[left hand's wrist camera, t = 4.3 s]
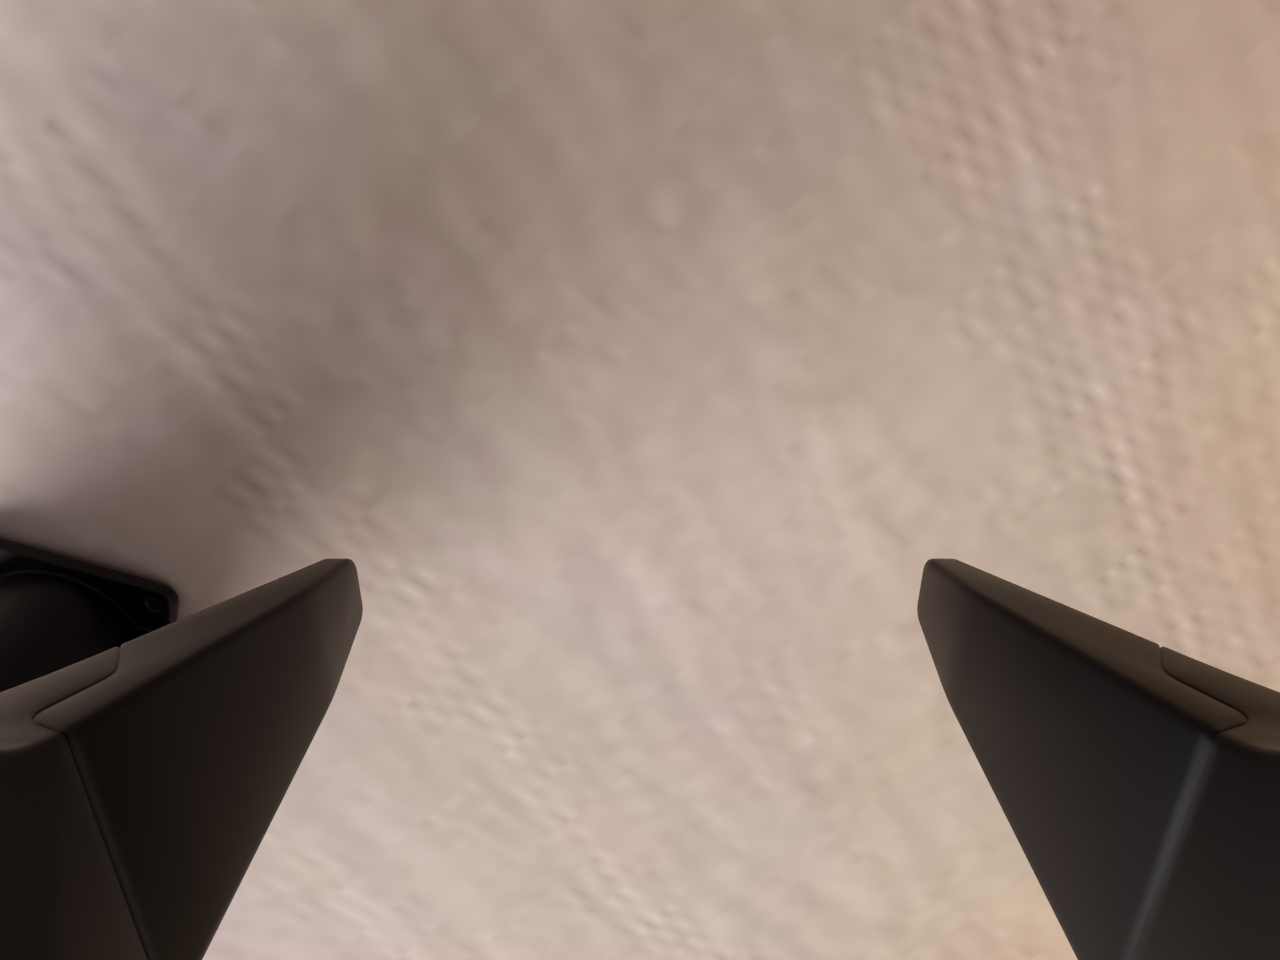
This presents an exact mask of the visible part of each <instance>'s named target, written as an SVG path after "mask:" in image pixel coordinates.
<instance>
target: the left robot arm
mask: <svg viewBox="0 0 1280 960" xmlns="http://www.w3.org/2000/svg"><path fill="white" fill-rule="evenodd" d="M155 597H156V598H158V599H160V600H161V601H162V603H163V604H161V603H159V602H157V600H156V599H155ZM178 604H179V599H178V595H177V594H176V592H175V591H174V590H173V589H172V588H171V587H169V586H167V585H165V584H161V583H158V582H154V581H151V580H147V579H143V578H140V577H136V576H133V575H129V574H125V573H122V572H118V571H114V570H111V569H107V568H104V567H100V566H96V565H93V564H89V563H85V562H82V561H78V560H75V559H71V558H67V557H64V556H60V555H56V554H53V553H49V552H46V551H42V550H38V549H35V548H31V547H27V546H24V545H20V544H17V543H13V542H9V541H6V540H2V539H0V960H202V959H203V957H204V955H205V953H206V951H207V949H208V947H209V945H210V943H211V941H212V939H213V937H214V935H215V933H216V931H217V929H218V927H219V925H220V923H221V921H222V919H223V917H224V915H225V913H226V911H227V909H228V907H229V905H230V903H231V901H232V899H233V897H234V895H235V893H236V891H237V889H238V887H239V885H240V883H241V881H242V879H243V877H244V875H245V873H246V871H247V869H248V867H249V865H250V863H251V861H252V859H253V857H254V855H255V853H256V851H257V849H258V847H259V845H260V843H261V841H262V839H263V837H264V835H265V833H266V831H267V829H268V827H269V825H270V823H271V821H272V819H273V817H274V815H275V813H276V811H277V809H278V807H279V805H280V803H281V801H282V799H283V797H284V795H285V793H286V791H287V789H288V787H289V785H290V783H291V781H292V779H293V777H294V775H295V773H296V771H297V769H298V767H299V765H300V763H301V761H302V759H303V757H304V755H305V753H306V751H307V749H308V747H309V745H310V743H311V742H312V740H313V738H314V736H315V734H316V732H317V730H318V728H319V726H320V724H321V722H322V720H323V718H324V716H325V714H326V712H327V709H328V707H329V705H330V703H331V701H332V699H333V696H334V694H335V691H336V689H337V686H338V683H339V681H340V678H341V675H342V672H343V669H344V667H345V664H346V661H347V658H348V655H349V653H350V650H351V647H352V644H353V641H354V639H355V636H356V633H357V630H358V627H359V625H360V622H361V618H362V611H363V609H362V600H361V593H360V587H359V581H358V575H357V570H356V566H355V564H354V562H353V561H352V560H350V559H324V560H322V561H319V562H317V563H315V564H312V565H310V566H307V567H305V568H303V569H300V570H298V571H295V572H293V573H291V574H288V575H286V576H284V577H281V578H279V579H276V580H274V581H272V582H269V583H267V584H264V585H262V586H260V587H257V588H255V589H252V590H250V591H248V592H245V593H243V594H241V595H238V596H236V597H233V598H231V599H229V600H226V601H224V602H221V603H219V604H217V605H214V606H212V607H210V608H207V609H205V610H202V611H200V612H198V613H195V614H193V615H190V616H188V617H186V618H183V619H181V620H178V621H177V612H178ZM917 611H918V618H919V622H920V625H921V627H922V630H923V633H924V636H925V639H926V641H927V644H928V647H929V650H930V653H931V655H932V658H933V661H934V664H935V667H936V669H937V672H938V675H939V678H940V681H941V683H942V686H943V689H944V691H945V694H946V696H947V699H948V701H949V703H950V705H951V707H952V709H953V712H954V714H955V716H956V718H957V720H958V722H959V724H960V726H961V728H962V730H963V732H964V734H965V736H966V738H967V740H968V742H969V744H970V745H971V747H972V749H973V751H974V753H975V755H976V757H977V759H978V761H979V763H980V765H981V767H982V769H983V771H984V773H985V775H986V777H987V779H988V781H989V783H990V785H991V787H992V789H993V791H994V793H995V795H996V797H997V799H998V801H999V803H1000V805H1001V807H1002V809H1003V811H1004V813H1005V815H1006V817H1007V819H1008V821H1009V823H1010V825H1011V827H1012V829H1013V831H1014V833H1015V835H1016V837H1017V839H1018V841H1019V843H1020V845H1021V847H1022V849H1023V851H1024V853H1025V855H1026V857H1027V859H1028V861H1029V863H1030V865H1031V867H1032V869H1033V871H1034V873H1035V875H1036V877H1037V879H1038V881H1039V883H1040V885H1041V887H1042V889H1043V891H1044V893H1045V895H1046V897H1047V899H1048V901H1049V903H1050V905H1051V907H1052V909H1053V911H1054V913H1055V915H1056V917H1057V919H1058V921H1059V923H1060V925H1061V927H1062V929H1063V931H1064V933H1065V935H1066V937H1067V939H1068V941H1069V943H1070V945H1071V947H1072V949H1073V951H1074V953H1075V955H1076V957H1077V959H1078V960H1280V692H1277V691H1274V690H1272V689H1269V688H1266V687H1264V686H1261V685H1259V684H1256V683H1253V682H1251V681H1248V680H1245V679H1243V678H1240V677H1238V676H1235V675H1232V674H1230V673H1227V672H1225V671H1222V670H1220V669H1217V668H1215V667H1212V666H1210V665H1207V664H1205V663H1203V662H1200V661H1198V660H1195V659H1193V658H1190V657H1188V656H1185V655H1183V654H1181V653H1178V652H1176V651H1173V650H1171V649H1169V648H1166V647H1161V648H1160V647H1159V645H1158V644H1156V643H1154V642H1152V641H1149V640H1147V639H1144V638H1142V637H1140V636H1137V635H1135V634H1133V633H1130V632H1128V631H1125V630H1123V629H1121V628H1118V627H1116V626H1113V625H1111V624H1109V623H1106V622H1104V621H1102V620H1099V619H1097V618H1094V617H1092V616H1090V615H1087V614H1085V613H1082V612H1080V611H1078V610H1075V609H1073V608H1070V607H1068V606H1066V605H1063V604H1061V603H1059V602H1056V601H1054V600H1051V599H1049V598H1047V597H1044V596H1042V595H1039V594H1037V593H1035V592H1032V591H1030V590H1028V589H1025V588H1023V587H1020V586H1018V585H1016V584H1013V583H1011V582H1008V581H1006V580H1004V579H1001V578H999V577H996V576H994V575H992V574H989V573H987V572H985V571H982V570H980V569H977V568H975V567H973V566H970V565H968V564H965V563H963V562H961V561H958V560H956V559H930V560H928V561H927V562H926V564H925V566H924V570H923V575H922V581H921V587H920V593H919V600H918V609H917Z"/></svg>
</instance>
